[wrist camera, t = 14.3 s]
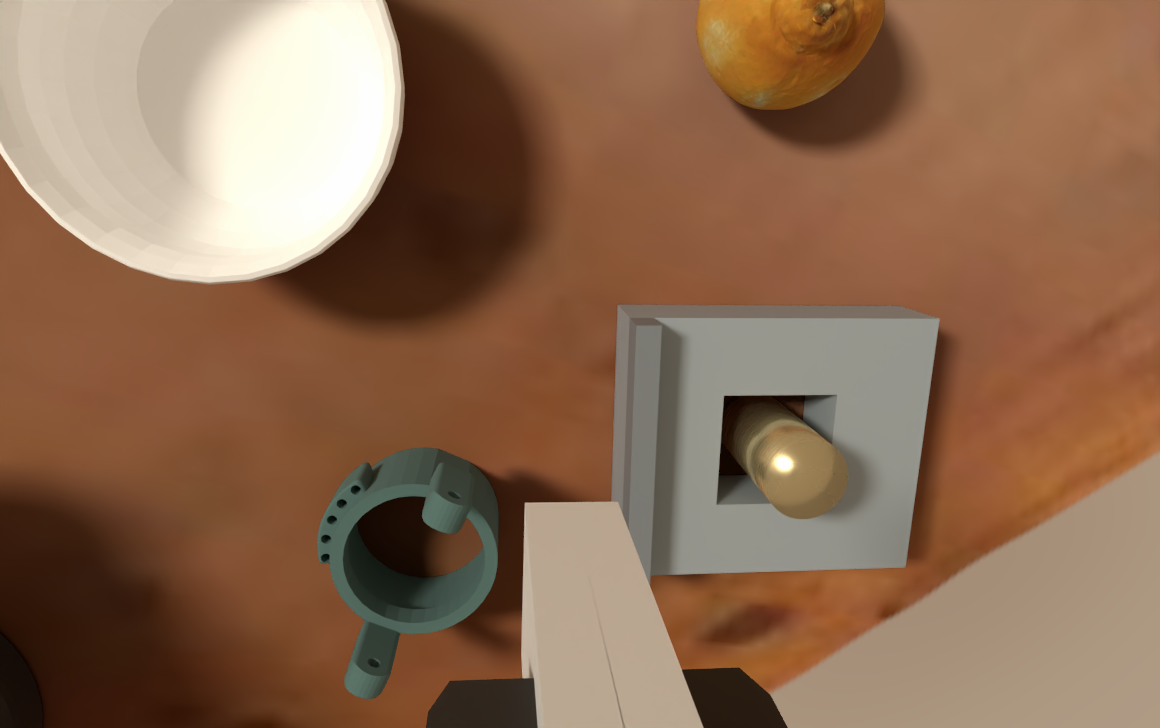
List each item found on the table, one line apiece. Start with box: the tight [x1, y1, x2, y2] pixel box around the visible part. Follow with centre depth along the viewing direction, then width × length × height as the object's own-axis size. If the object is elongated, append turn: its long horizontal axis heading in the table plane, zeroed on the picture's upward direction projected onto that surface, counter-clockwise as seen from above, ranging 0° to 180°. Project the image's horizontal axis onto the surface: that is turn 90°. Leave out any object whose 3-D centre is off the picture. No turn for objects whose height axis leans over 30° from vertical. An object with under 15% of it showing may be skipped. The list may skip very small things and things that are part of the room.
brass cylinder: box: [721, 395, 848, 519], centre depth 39 cm, size 4×4×8 cm
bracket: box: [317, 448, 499, 699], centre depth 38 cm, size 9×9×9 cm
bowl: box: [0, 0, 405, 284], centre depth 32 cm, size 16×16×8 cm
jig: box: [611, 305, 939, 585], centre depth 40 cm, size 16×14×6 cm
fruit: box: [696, 0, 885, 110], centre depth 34 cm, size 8×8×8 cm
